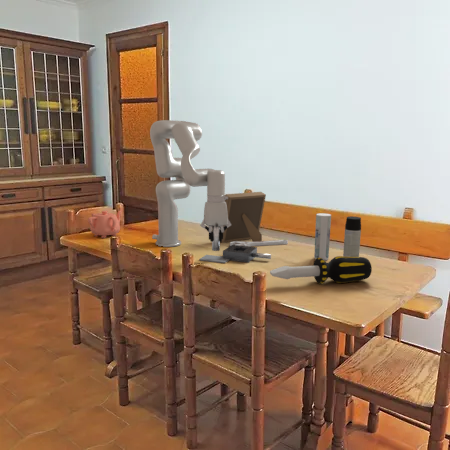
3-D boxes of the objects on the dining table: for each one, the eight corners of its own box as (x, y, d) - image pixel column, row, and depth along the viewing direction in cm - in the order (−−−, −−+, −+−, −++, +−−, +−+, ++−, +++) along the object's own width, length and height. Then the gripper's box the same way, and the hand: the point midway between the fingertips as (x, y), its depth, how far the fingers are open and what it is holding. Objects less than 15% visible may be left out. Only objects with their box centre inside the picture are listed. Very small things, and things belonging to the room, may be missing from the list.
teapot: (92, 232, 257) (91, 208, 254) (123, 232, 259) (123, 208, 256) (87, 239, 241) (86, 213, 239) (121, 238, 243) (120, 213, 241)
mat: (199, 260, 204) (199, 259, 204) (206, 255, 212) (206, 254, 212) (225, 263, 200) (225, 262, 200) (231, 258, 208) (231, 257, 208)
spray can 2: (313, 256, 213) (315, 213, 209) (327, 256, 213) (329, 213, 209) (314, 260, 207) (317, 215, 203) (329, 260, 206) (332, 216, 202)
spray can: (359, 261, 205) (362, 216, 201) (358, 265, 199) (361, 219, 195) (343, 260, 207) (346, 215, 203) (342, 264, 201) (344, 218, 197)
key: (211, 248, 208) (211, 221, 205) (218, 248, 208) (218, 221, 206) (213, 251, 202) (213, 224, 199) (220, 251, 202) (220, 224, 200)
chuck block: (222, 259, 206) (222, 250, 205) (231, 253, 217) (232, 244, 216) (266, 264, 199) (266, 255, 198) (273, 257, 210) (274, 249, 209)
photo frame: (218, 241, 240) (219, 192, 235) (253, 236, 251) (254, 190, 246) (234, 247, 228) (235, 196, 223) (269, 242, 239) (271, 194, 234)
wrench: (290, 241, 233) (233, 245, 224) (290, 245, 233) (233, 249, 224) (284, 238, 240) (228, 241, 232) (284, 241, 241) (228, 245, 232)
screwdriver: (275, 291, 166) (276, 264, 164) (266, 282, 176) (267, 256, 174) (374, 284, 175) (376, 258, 173) (360, 276, 185) (362, 251, 182)
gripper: (233, 197, 206) (233, 238, 209) (195, 198, 203) (196, 239, 207) (236, 200, 198) (236, 242, 202) (197, 200, 196) (197, 243, 199)
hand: (215, 240), depth 204 cm, fingers closed on key, 3 cm apart
